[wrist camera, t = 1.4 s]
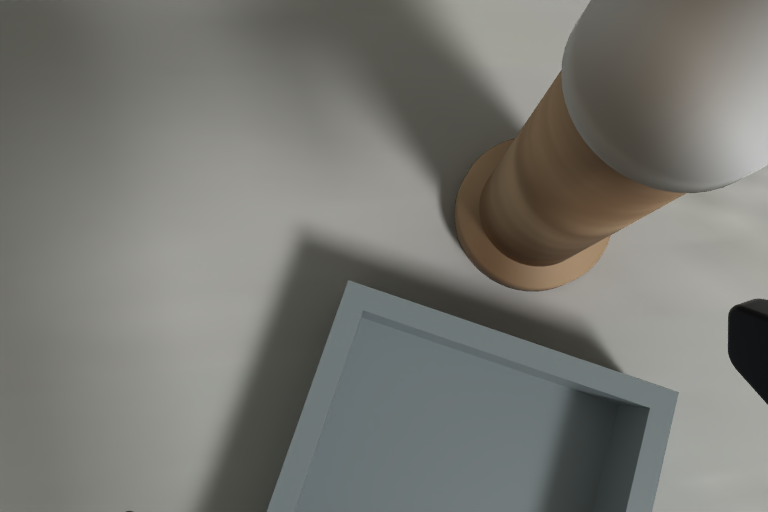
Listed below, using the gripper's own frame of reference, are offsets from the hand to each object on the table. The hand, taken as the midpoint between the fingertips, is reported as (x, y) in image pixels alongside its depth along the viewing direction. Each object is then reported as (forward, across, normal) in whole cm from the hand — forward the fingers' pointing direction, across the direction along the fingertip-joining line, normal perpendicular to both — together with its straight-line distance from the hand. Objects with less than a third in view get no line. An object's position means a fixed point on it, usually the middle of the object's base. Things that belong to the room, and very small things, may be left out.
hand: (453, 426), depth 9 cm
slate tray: (+10, -1, +11) cm, 15 cm away
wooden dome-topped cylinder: (+14, -7, +4) cm, 17 cm away
